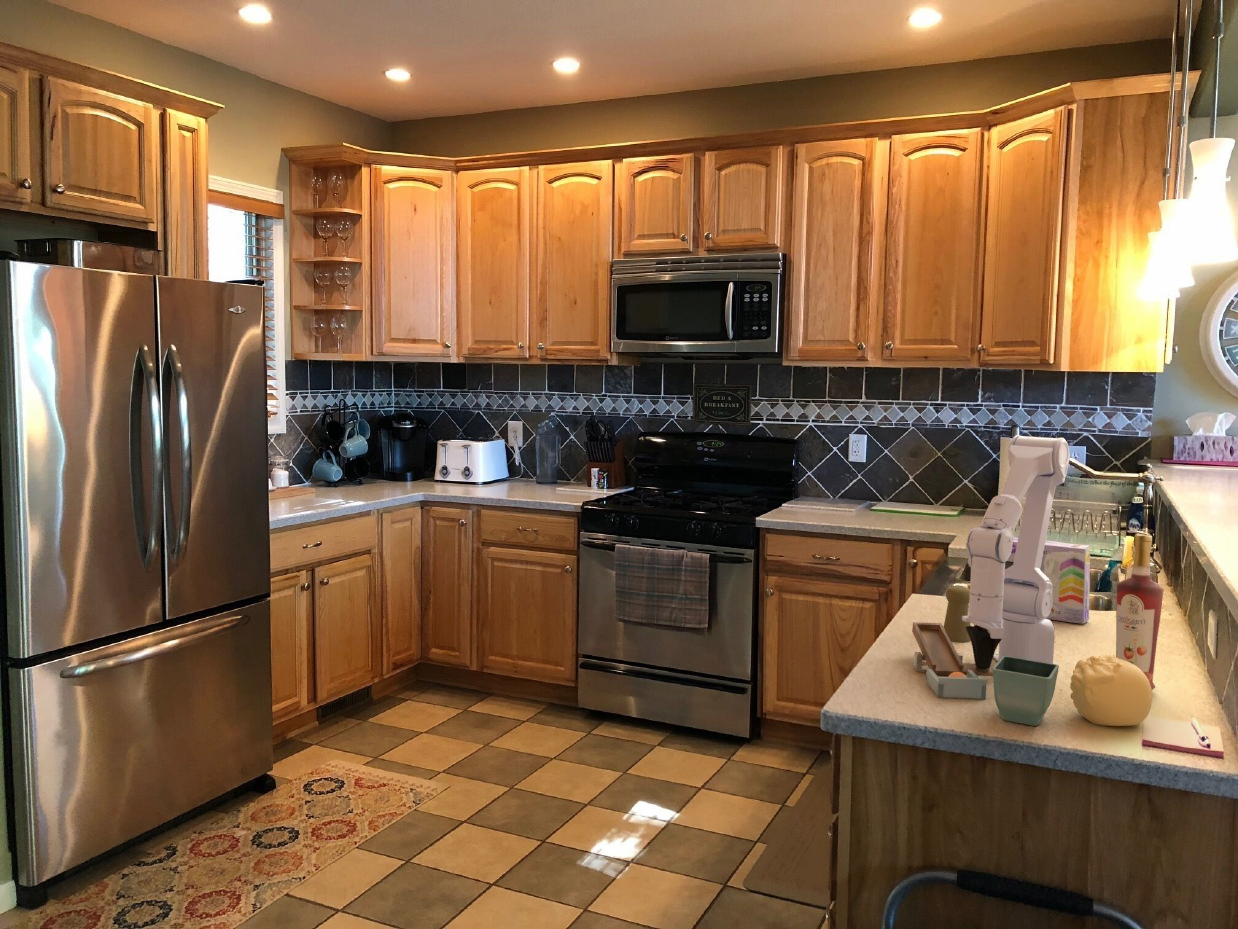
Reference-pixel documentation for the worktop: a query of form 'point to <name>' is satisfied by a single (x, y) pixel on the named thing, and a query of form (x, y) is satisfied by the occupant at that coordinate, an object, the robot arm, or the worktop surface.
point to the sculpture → (1110, 691)
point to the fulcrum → (918, 662)
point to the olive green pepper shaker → (957, 613)
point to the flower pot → (1023, 688)
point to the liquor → (1139, 612)
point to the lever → (942, 651)
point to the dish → (957, 686)
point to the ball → (957, 674)
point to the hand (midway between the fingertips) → (982, 667)
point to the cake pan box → (1065, 579)
